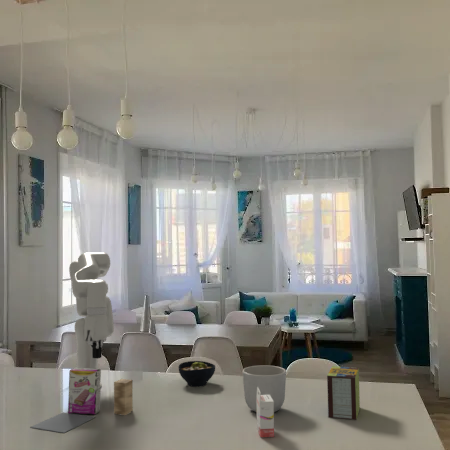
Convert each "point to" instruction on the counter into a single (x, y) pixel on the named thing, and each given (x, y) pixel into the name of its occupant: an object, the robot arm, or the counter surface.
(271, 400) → the ink cartridge box
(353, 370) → the protein box
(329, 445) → the counter surface
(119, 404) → the oak block
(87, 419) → the mat
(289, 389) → the counter surface
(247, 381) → the planter
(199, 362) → the bowl
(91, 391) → the candy bar box
